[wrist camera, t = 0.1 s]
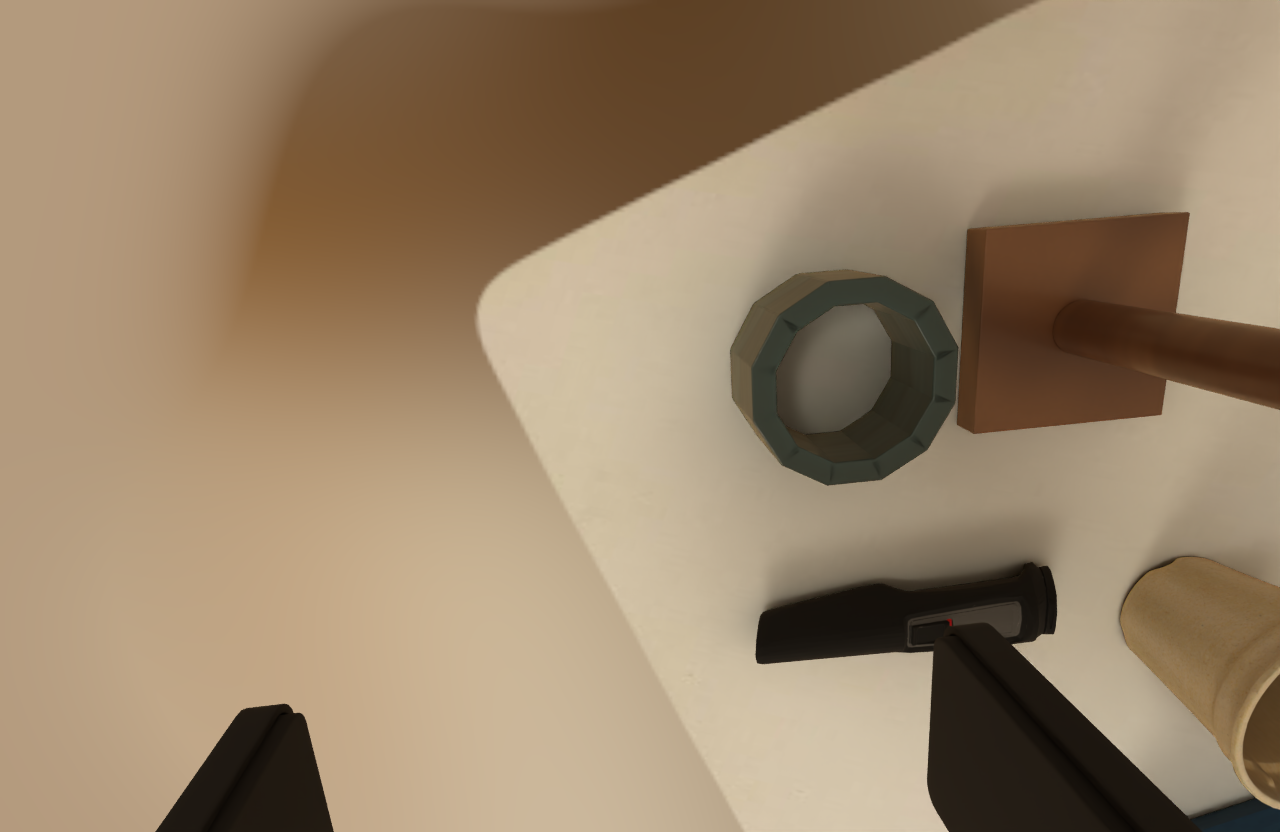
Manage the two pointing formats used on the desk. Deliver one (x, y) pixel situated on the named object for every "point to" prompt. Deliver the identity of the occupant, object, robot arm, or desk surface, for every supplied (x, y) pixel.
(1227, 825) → the radio
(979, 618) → the electric trimmer
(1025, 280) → the stand
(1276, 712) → the flower pot
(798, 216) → the desk surface
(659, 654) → the desk surface
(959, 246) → the desk surface
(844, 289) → the ring
